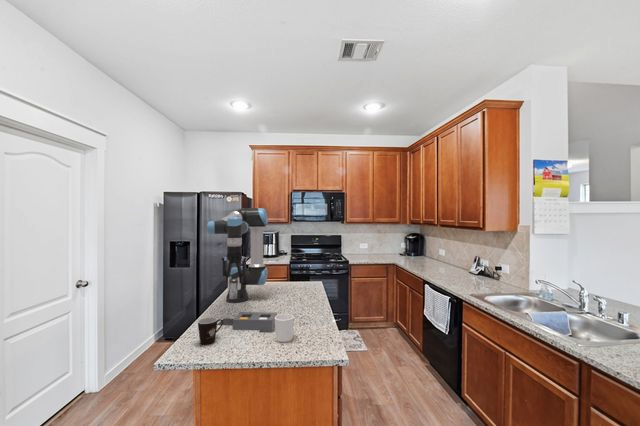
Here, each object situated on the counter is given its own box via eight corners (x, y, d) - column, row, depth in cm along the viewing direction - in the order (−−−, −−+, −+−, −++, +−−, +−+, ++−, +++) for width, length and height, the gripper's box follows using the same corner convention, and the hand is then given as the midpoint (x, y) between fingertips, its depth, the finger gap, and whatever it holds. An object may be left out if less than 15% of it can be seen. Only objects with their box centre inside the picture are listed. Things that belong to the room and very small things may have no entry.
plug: (230, 297, 157) (231, 278, 157) (238, 297, 157) (239, 279, 157) (227, 299, 152) (228, 280, 153) (235, 299, 152) (236, 280, 152)
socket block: (240, 323, 157) (240, 311, 157) (276, 323, 156) (276, 311, 157) (232, 331, 145) (232, 319, 146) (272, 332, 144) (272, 319, 145)
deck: (223, 320, 162) (223, 318, 162) (241, 320, 161) (241, 318, 161) (216, 327, 152) (216, 325, 152) (235, 327, 151) (235, 325, 151)
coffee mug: (198, 347, 127) (198, 325, 127) (196, 340, 135) (196, 319, 135) (225, 342, 133) (225, 320, 133) (222, 335, 140) (222, 315, 140)
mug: (285, 344, 130) (285, 321, 130) (270, 340, 135) (270, 318, 135) (300, 336, 139) (300, 314, 140) (285, 332, 144) (285, 311, 144)
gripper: (215, 246, 152) (215, 290, 152) (248, 246, 151) (248, 291, 150) (221, 245, 160) (221, 287, 159) (252, 245, 159) (252, 287, 158)
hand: (234, 289), depth 155 cm, fingers closed on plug, 5 cm apart
